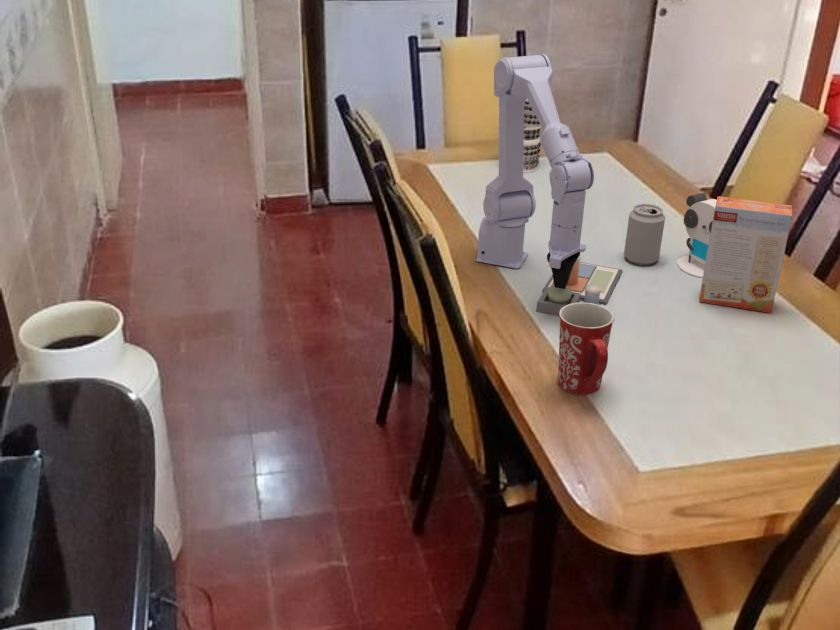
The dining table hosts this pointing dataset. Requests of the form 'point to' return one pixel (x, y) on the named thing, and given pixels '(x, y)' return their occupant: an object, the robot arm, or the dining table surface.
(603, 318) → the mug
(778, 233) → the cracker box
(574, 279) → the terracotta marker
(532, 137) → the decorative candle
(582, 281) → the colour zone board
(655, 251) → the can
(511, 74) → the robot arm
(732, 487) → the dining table surface
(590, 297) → the slate blue marker
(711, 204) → the panda figurine
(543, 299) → the button collar
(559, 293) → the button
